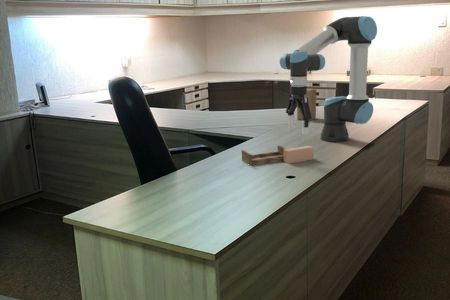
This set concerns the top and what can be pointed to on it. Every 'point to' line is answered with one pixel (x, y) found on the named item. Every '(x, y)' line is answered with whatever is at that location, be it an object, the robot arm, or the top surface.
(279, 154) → the rack
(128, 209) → the top surface
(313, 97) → the wooden block
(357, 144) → the top surface
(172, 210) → the top surface
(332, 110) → the robot arm
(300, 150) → the pink rectangular block
